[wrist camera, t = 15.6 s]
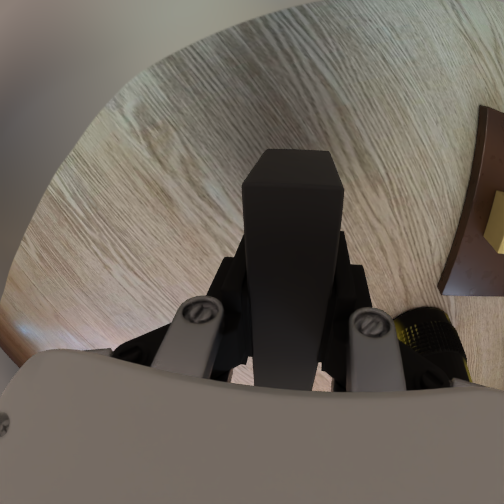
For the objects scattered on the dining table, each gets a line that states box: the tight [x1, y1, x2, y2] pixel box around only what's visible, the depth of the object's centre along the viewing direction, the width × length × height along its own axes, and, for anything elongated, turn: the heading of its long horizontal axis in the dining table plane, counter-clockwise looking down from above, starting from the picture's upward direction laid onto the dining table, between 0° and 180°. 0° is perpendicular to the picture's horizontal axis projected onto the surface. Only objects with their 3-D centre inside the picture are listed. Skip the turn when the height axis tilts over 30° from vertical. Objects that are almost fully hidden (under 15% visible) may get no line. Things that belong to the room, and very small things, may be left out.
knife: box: [242, 149, 344, 391], centre depth 13 cm, size 20×2×4 cm, turn 3°
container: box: [393, 308, 472, 382], centre depth 18 cm, size 11×11×30 cm
